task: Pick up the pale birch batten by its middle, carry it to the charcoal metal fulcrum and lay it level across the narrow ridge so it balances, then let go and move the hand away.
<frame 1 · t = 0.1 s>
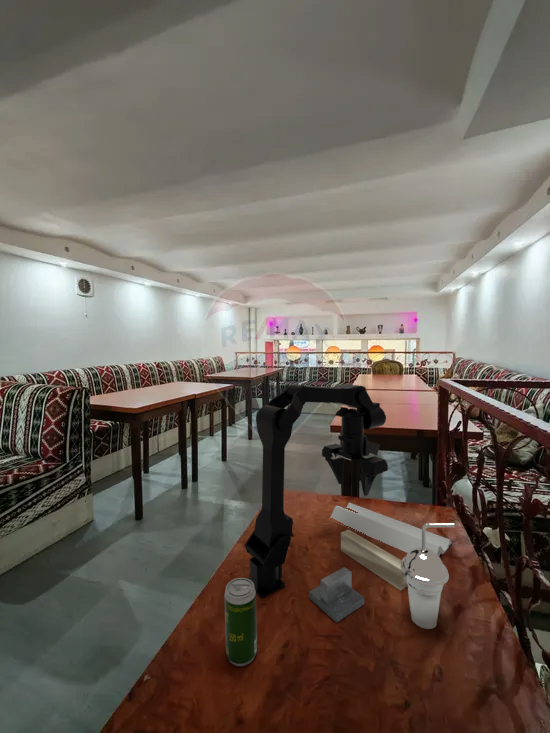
hand: (352, 489, 92), 15 cm above the table, tool pointing down, fingers open, 9 cm apart
crown molding: (385, 533, 99), on the table
fulcrum: (336, 601, 72), on the table
batten: (371, 567, 83), on the table
beer can: (241, 654, 60), on the table
cup with straw: (425, 621, 66), on the table
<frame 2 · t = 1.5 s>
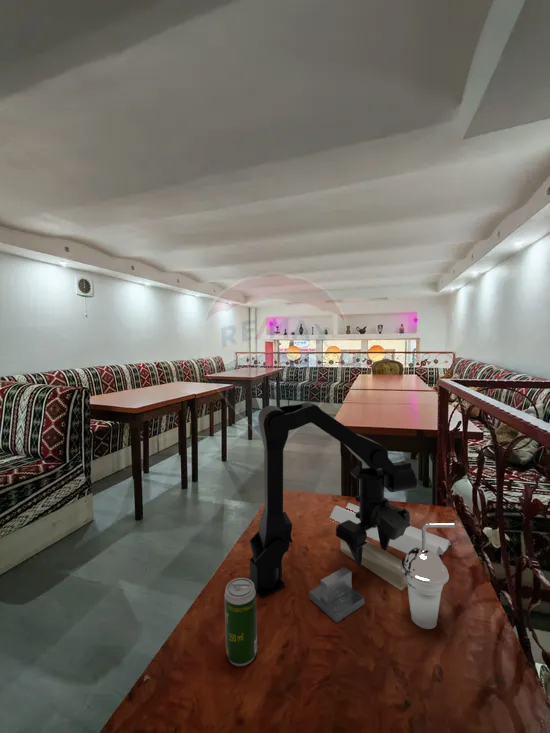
hand: (371, 557, 83), 2 cm above the table, tool pointing down, fingers open, 9 cm apart
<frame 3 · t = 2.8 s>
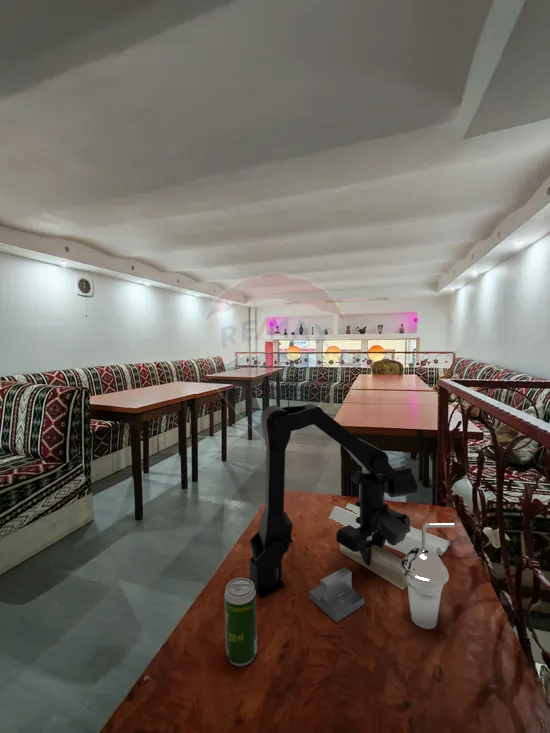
hand: (372, 562, 83), 1 cm above the table, tool pointing down, fingers closed on batten, 3 cm apart
batten: (372, 567, 83), on the table, touching gripper
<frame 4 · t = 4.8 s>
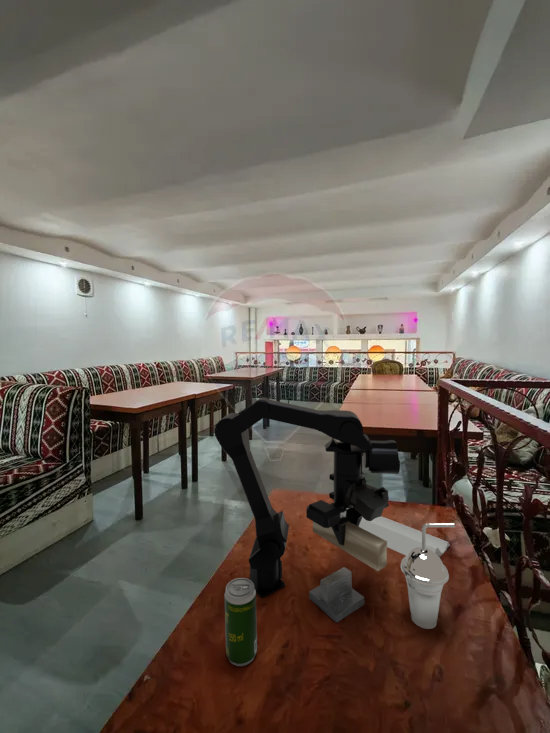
hand: (346, 542, 74), 11 cm above the table, tool pointing down, fingers closed on batten, 3 cm apart
batten: (346, 547, 74), point 10 cm above the table, touching gripper
when the fingers open (7 cm above the table, at t = 6.3 s): batten stays where it is, resting on fulcrum.
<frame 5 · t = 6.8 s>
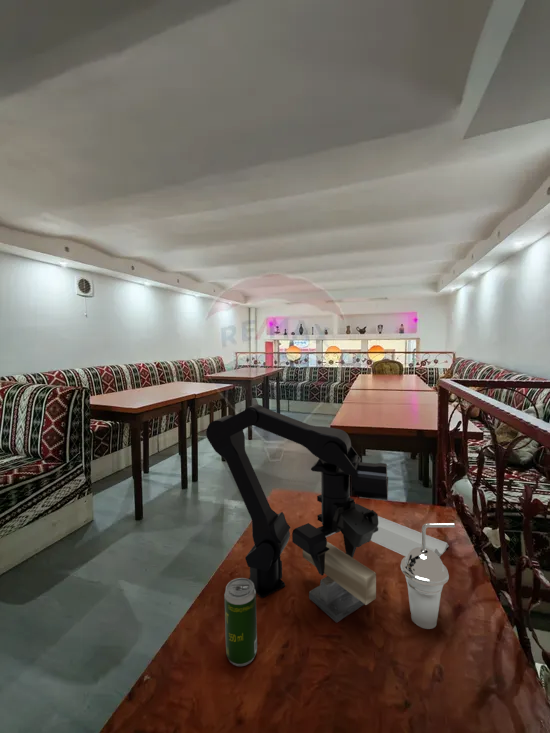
hand: (335, 566, 71), 7 cm above the table, tool pointing down, fingers open, 8 cm apart
batten: (336, 575, 71), point 5 cm above the table, touching fulcrum
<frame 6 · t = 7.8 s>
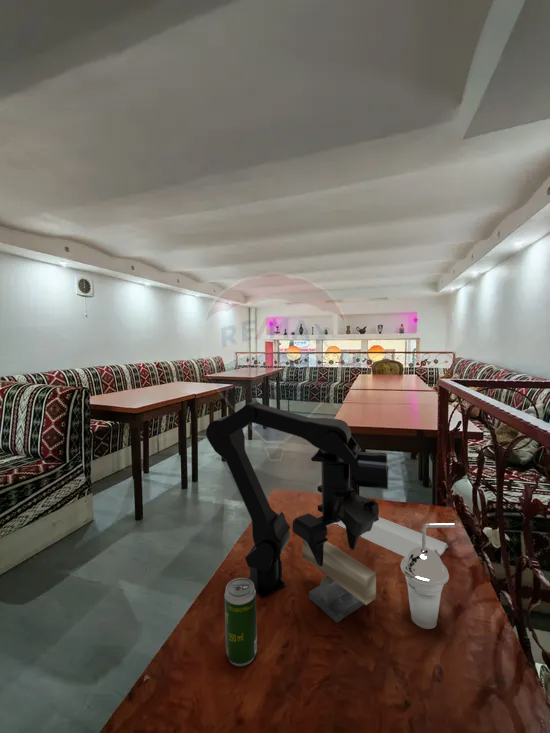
hand: (336, 556, 71), 10 cm above the table, tool pointing down, fingers open, 9 cm apart
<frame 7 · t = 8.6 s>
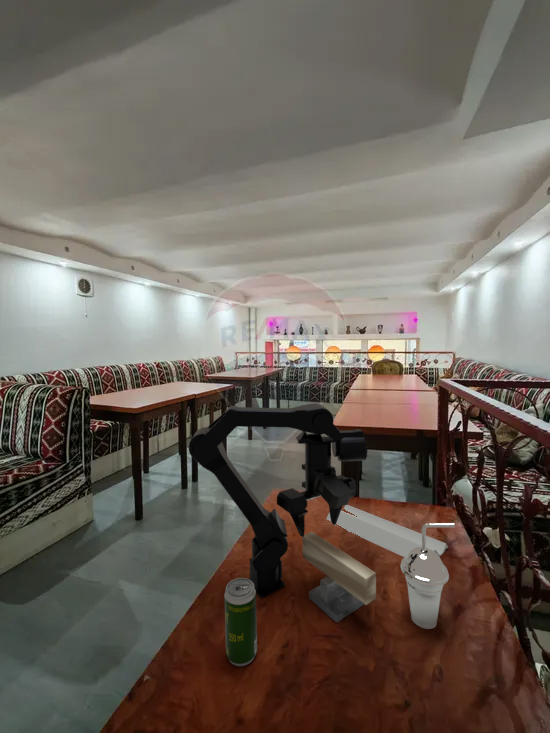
hand: (318, 529, 77), 12 cm above the table, tool pointing down, fingers open, 9 cm apart
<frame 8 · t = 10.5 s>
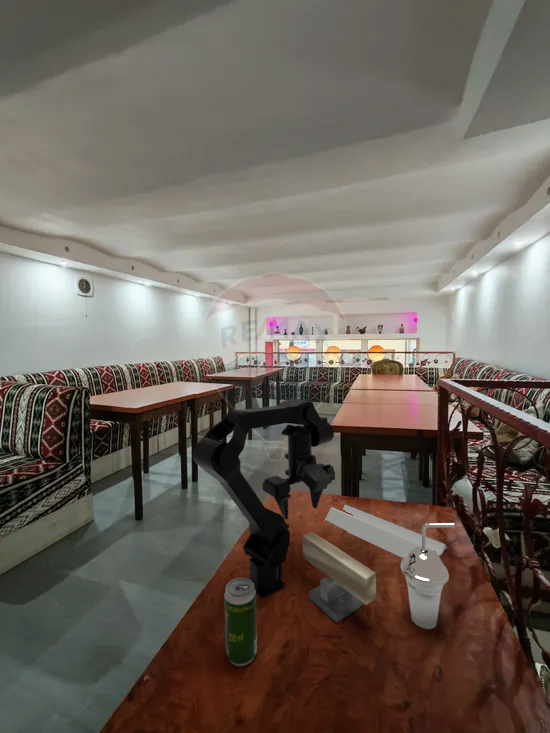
hand: (300, 513, 85), 12 cm above the table, tool pointing down, fingers open, 9 cm apart
at the end: batten 0.0 cm off-centre on the fulcrum, point 5.5 cm above the fulcrum's base; batten tilted 0°; batten touching fulcrum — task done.
